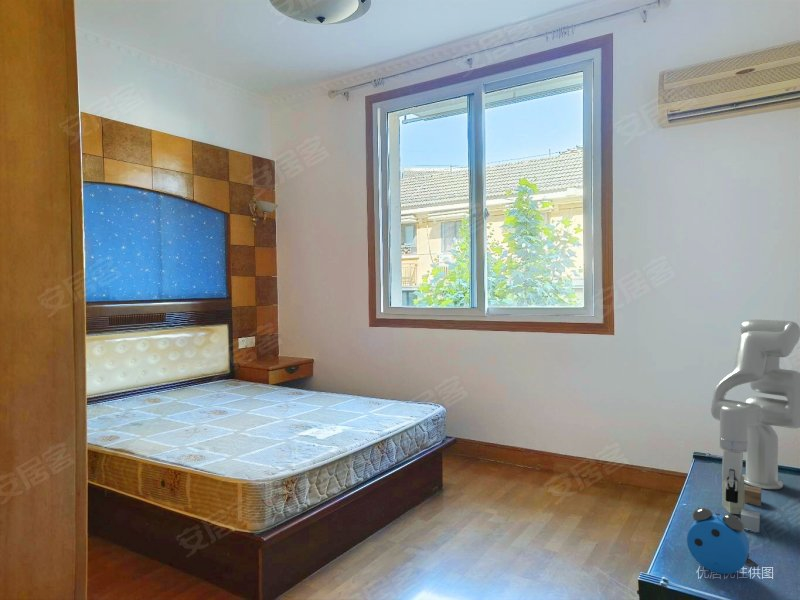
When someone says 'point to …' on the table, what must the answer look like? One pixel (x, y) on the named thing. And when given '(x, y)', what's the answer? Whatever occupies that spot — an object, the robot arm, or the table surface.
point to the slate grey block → (750, 519)
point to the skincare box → (737, 507)
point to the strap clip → (750, 562)
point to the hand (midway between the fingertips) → (732, 496)
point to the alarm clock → (718, 541)
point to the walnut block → (752, 495)
